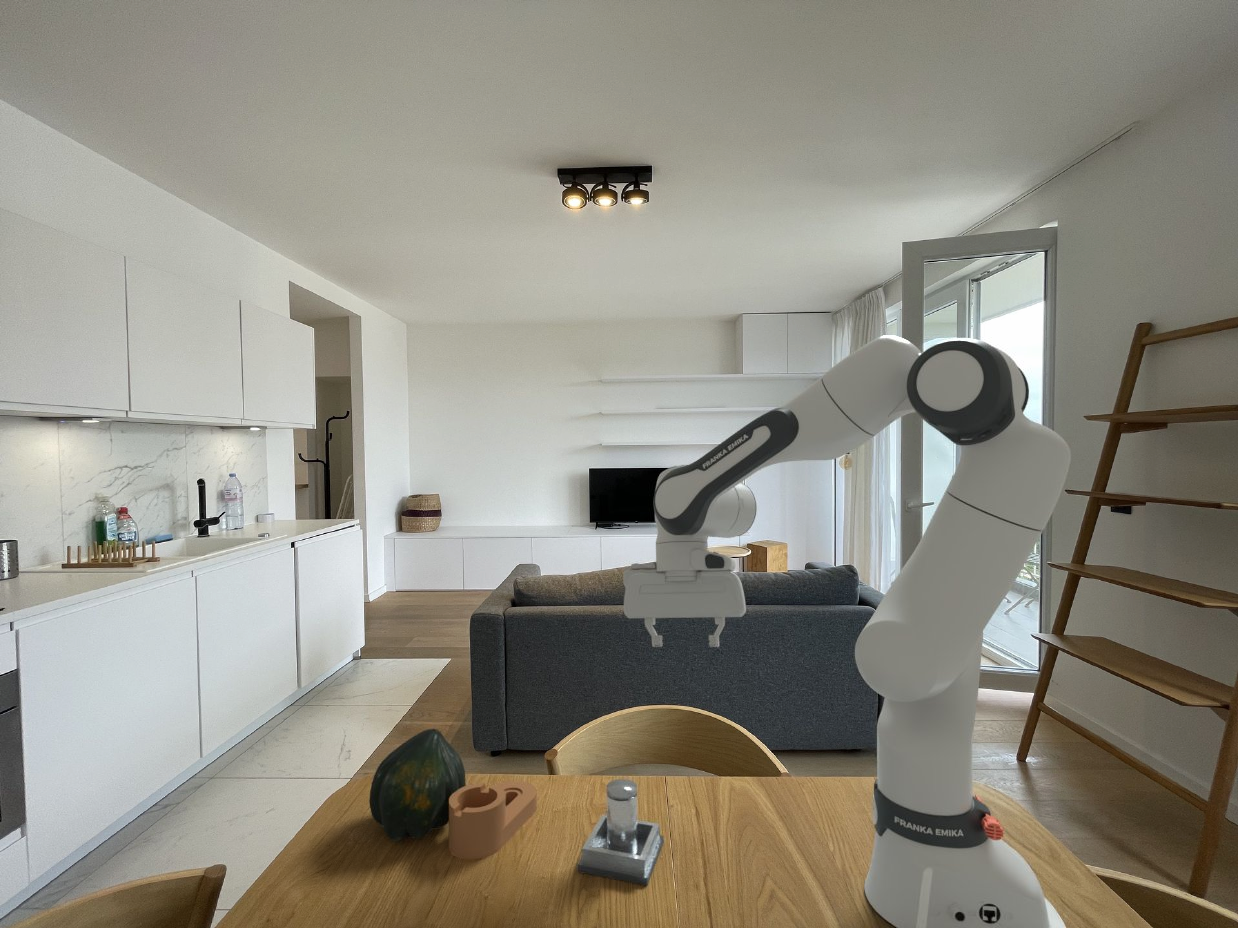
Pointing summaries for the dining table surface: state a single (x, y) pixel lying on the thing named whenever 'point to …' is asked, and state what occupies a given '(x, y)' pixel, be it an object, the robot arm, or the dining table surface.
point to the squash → (416, 786)
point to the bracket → (488, 817)
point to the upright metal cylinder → (622, 816)
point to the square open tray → (622, 854)
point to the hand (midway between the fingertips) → (685, 646)
